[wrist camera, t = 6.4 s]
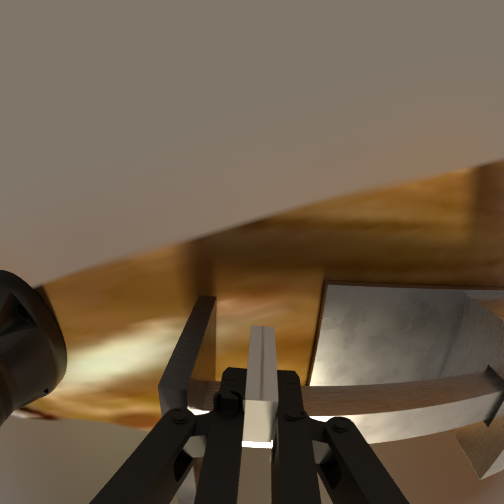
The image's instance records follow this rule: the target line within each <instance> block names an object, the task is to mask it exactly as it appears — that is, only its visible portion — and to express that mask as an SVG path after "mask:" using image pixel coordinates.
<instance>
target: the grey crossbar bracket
mask: <svg viewBox="0 0 504 504" xmlns="http://www.w3.org/2000/svg"><path fill="white" fill-rule="evenodd" d="M216 305H217V297H213V296H201V295H199V297H198V299H197V301H196V304H195V306H194V308H193V310H192V312H191V314H190V316H189V319H188V321H187V323H186V325H185V327H184V329H183V332H182V334H181V336H180V338H179V340H178V342H177V345H176V347H175V349H174V351H173V353H172V356H171V358H170V360H169V362H168V365H167V367H166V369H165V371H164V374H163V376H162V378H161V380H160V383H159V385H158V391H159V398H160V406H161V412H162V417H163V416H164V414H165V413H166V412H167V411H169V410H170V409H173V408H186V409H188V410H190V411H192V412H193V413H194V414H195V415H198V414H205V413H208V412H210V411H212V410H213V396H214V395H215V393H216V392H218V391H219V390H220V385H221V382H220V381H215V358H216ZM301 392H302V399H303V406H304V410H305V411H306V412H307V414H308V416H310V417H311V418H313V419H316V420H319V421H324V422H326V421H327V420H328V419H329V418H332V417H334V416H342V417H346V418H348V419H350V420H352V421H353V422H354V424H355V425H356V426H357V428H358V429H359V431H360V432H361V434H362V435H363V437H364V438H365V440H366V441H367V443H368V444H371V443H379V442H386V441H394V440H400V439H406V438H412V437H417V436H423V435H428V434H433V433H437V432H442V431H446V430H451V429H455V428H459V427H462V426H466V425H470V424H473V423H477V422H480V421H484V420H487V419H490V418H493V417H495V415H496V414H497V412H498V410H499V408H500V407H501V405H502V403H503V401H504V380H503V379H502V378H501V377H500V376H499V375H498V374H497V373H496V372H495V371H494V370H493V369H492V370H487V371H482V372H476V373H471V374H465V375H458V376H452V377H445V378H437V379H429V380H420V381H411V382H400V383H387V384H371V385H349V386H301ZM242 446H245V447H265V448H272V443H257V442H242ZM203 457H204V456H203ZM203 457H198V458H197V460H196V462H195V463H194V465H193V467H192V468H191V470H190V472H189V473H188V475H187V477H186V478H185V480H184V481H183V483H182V485H181V486H180V488H179V489H178V491H177V497H178V501H179V504H194V500H195V495H196V491H197V486H198V481H199V476H200V472H201V467H202V462H203Z"/></svg>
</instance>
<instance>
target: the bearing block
mask: <svg viewBox="0 0 504 504" xmlns="http://www.w3.org/2000/svg"><path fill="white" fill-rule="evenodd" d="M492 369H493V370H494V371H495V372H496V373H497V374H498V375H499V376H500V377H501V378H502V379H503V380H504V287H477V286H441V285H413V284H389V283H367V282H347V281H328V280H325V286H324V293H323V299H322V306H321V312H320V318H319V324H318V330H317V336H316V342H315V347H314V352H313V358H312V363H311V368H310V373H309V378H308V383H307V386H349V385H371V384H387V383H400V382H411V381H420V380H429V379H437V378H445V377H452V376H458V375H465V374H471V373H476V372H482V371H487V370H492ZM451 431H452V433H453V435H454V436H455V438H456V439H457V441H458V443H459V445H460V446H461V448H462V449H463V451H464V453H465V455H466V456H467V458H468V459H469V461H470V463H471V465H472V466H473V468H474V470H475V472H476V473H477V475H478V477H479V479H480V480H481V479H483V478H486V477H488V476H490V475H492V474H495V473H497V472H499V471H501V470H503V469H504V401H503V403H502V405H501V407H500V408H499V410H498V412H497V414H496V415H495V417H493V418H490V419H487V420H484V421H480V422H477V423H473V424H470V425H466V426H462V427H459V428H455V429H451Z"/></svg>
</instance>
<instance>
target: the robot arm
mask: <svg viewBox="0 0 504 504" xmlns="http://www.w3.org/2000/svg"><path fill="white" fill-rule="evenodd" d="M66 367H67V356H66V350H65V345H64V341H63V338H62V335H61V333H60V330H59V328H58V326H57V323H56V321H55V319H54V318H53V316H52V314H51V312H50V311H49V309H48V307H47V306H46V305H45V303H44V302H43V300H42V299H41V298H40V296H39V295H38V294H37V293H36V292H35V291H34V290H33V289H32V287H31V286H29V285H28V284H27V283H26V282H25V281H23V280H22V279H21V278H20V277H18V276H17V275H15V274H13V273H11V272H8V271H4V270H0V427H1V425H2V424H3V423H4V422H5V420H6V419H7V418H8V417H9V416H10V415H11V414H12V412H13V411H14V410H16V409H19V408H21V407H23V406H25V405H27V404H29V403H31V402H33V401H35V400H37V399H39V398H41V397H44V396H46V395H48V394H49V393H51V392H52V391H53V390H54V389H55V388H56V386H57V385H58V384H59V383H60V382H61V380H62V379H63V377H64V375H65V372H66ZM242 442H257V443H272V450H271V455H270V460H269V461H271V486H272V487H271V490H272V491H271V492H272V504H321V498H320V490H319V483H318V477H317V472H318V474H319V476H320V478H321V480H322V482H323V484H324V486H325V488H326V490H327V492H328V494H329V496H330V498H331V500H332V502H333V504H409V502H408V501H407V499H406V498H405V497H404V495H403V494H402V492H401V491H400V489H399V488H398V486H397V485H396V483H395V482H394V481H393V479H392V478H391V476H390V475H389V473H388V472H387V470H386V469H385V467H384V466H383V465H382V463H381V462H380V460H379V459H378V457H377V456H376V454H375V453H374V451H373V450H372V449H371V447H370V446H369V444H368V443H367V441H366V440H365V438H364V437H363V435H362V434H361V432H360V431H359V429H358V428H357V426H356V425H355V424H354V422H353V421H352V420H350V419H348V418H346V417H342V416H334V417H332V418H329V419H328V420H327V421H326V422H324V421H319V420H316V419H313V418H311V417H310V416H308V414H307V412H306V411H305V410H304V406H303V399H302V392H301V385H300V379H299V376H298V375H297V373H296V372H295V371H287V370H277V363H276V345H275V328H274V327H264V326H251V334H250V346H249V358H248V369H244V368H232V367H228V368H227V369H226V370H225V371H224V372H223V375H222V380H221V385H220V390H219V391H218V392H216V393H215V395H214V396H213V410H212V411H210V412H208V413H205V414H198V415H195V414H194V413H193V412H192V411H190V410H188V409H186V408H173V409H170V410H169V411H167V412H166V413H165V414H164V416H163V417H162V418H161V419H160V420H159V422H158V423H157V424H156V425H155V427H154V428H153V429H152V430H151V431H150V433H149V434H148V435H147V436H146V438H145V439H144V440H143V441H142V442H141V444H140V445H139V446H138V447H137V449H136V450H135V451H134V452H133V453H132V454H131V456H130V457H129V458H128V459H127V460H126V462H125V463H124V464H123V465H122V466H121V468H120V469H119V470H118V471H117V472H116V473H115V474H114V476H113V477H112V478H111V479H110V480H109V481H108V483H107V484H106V485H105V486H104V487H103V488H102V490H101V491H100V492H99V493H98V494H97V495H96V496H95V498H94V499H93V500H92V501H91V502H90V503H89V504H169V503H170V502H171V500H172V499H173V497H174V496H175V494H176V493H177V491H178V489H179V488H180V486H181V485H182V483H183V481H184V480H185V478H186V477H187V475H188V473H189V472H190V470H191V468H192V467H193V465H194V463H195V462H196V460H197V458H198V457H203V456H204V457H203V462H202V467H201V472H200V476H199V481H198V486H197V491H196V495H195V500H194V504H237V497H238V486H239V476H240V465H241V454H242Z"/></svg>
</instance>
